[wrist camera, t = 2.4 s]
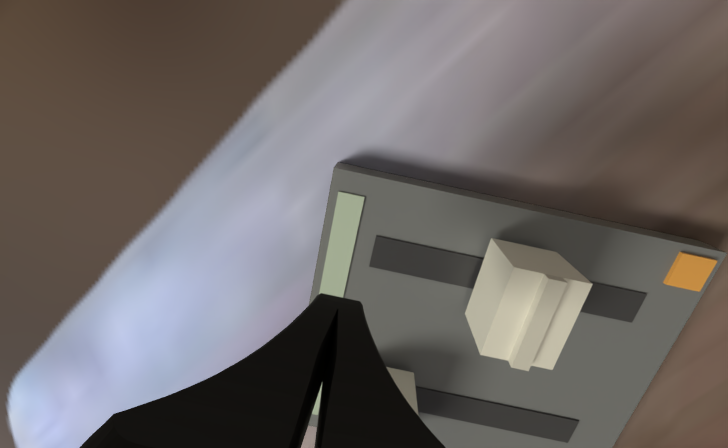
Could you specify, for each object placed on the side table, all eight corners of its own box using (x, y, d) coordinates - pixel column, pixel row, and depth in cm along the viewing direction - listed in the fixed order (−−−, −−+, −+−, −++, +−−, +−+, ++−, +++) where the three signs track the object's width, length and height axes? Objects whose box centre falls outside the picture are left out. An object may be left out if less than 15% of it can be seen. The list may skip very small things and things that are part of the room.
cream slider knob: (395, 429, 20) (398, 492, 17) (342, 418, 20) (334, 479, 17) (413, 372, 19) (419, 429, 16) (357, 360, 19) (351, 414, 15)
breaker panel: (577, 459, 23) (592, 487, 21) (294, 400, 22) (287, 423, 21) (699, 240, 18) (730, 254, 16) (337, 162, 17) (333, 168, 16)
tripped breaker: (525, 326, 17) (557, 376, 14) (464, 313, 17) (482, 361, 14) (556, 251, 16) (598, 289, 13) (491, 237, 16) (517, 272, 13)
